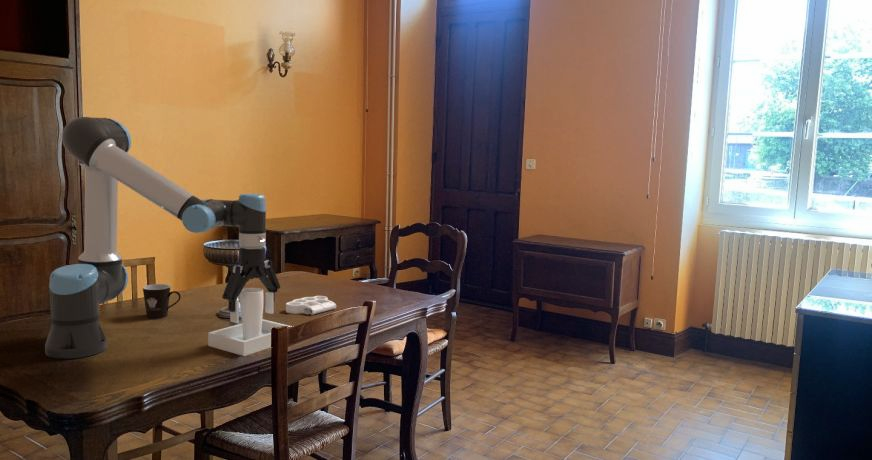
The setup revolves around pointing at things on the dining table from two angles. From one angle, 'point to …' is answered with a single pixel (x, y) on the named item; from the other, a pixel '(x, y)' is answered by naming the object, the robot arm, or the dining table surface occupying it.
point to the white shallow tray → (235, 343)
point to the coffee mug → (157, 300)
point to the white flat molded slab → (310, 305)
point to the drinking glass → (251, 312)
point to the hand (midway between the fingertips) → (252, 317)
